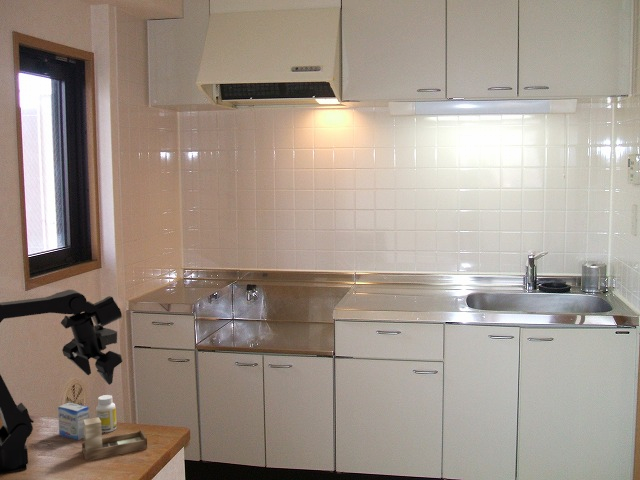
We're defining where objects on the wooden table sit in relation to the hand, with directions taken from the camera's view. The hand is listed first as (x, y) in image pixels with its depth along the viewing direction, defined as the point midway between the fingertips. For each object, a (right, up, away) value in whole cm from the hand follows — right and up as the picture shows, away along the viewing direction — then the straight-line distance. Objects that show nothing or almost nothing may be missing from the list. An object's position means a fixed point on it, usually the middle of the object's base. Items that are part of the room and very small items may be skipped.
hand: (99, 378), depth 192 cm
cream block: (+1, -17, -8) cm, 19 cm away
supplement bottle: (-1, -17, +8) cm, 19 cm away
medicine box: (-9, -17, +4) cm, 20 cm away
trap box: (+6, -18, -6) cm, 20 cm away
